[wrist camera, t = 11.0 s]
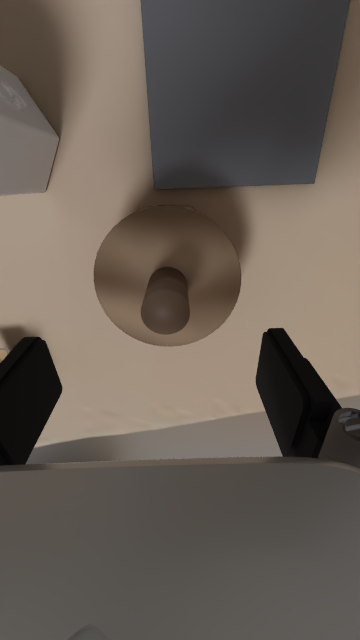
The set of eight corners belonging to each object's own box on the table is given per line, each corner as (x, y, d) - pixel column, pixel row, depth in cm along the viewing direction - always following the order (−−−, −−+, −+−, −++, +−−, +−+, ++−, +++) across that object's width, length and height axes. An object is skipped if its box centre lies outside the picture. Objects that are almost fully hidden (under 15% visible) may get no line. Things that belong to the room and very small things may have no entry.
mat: (137, -60, 16) (135, -68, 15) (359, -70, 16) (365, -78, 15) (154, 189, 23) (154, 189, 22) (311, 183, 23) (314, 183, 22)
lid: (82, 209, 19) (45, 219, 14) (243, 201, 19) (269, 208, 13) (110, 343, 25) (92, 386, 19) (234, 337, 24) (249, 380, 19)
